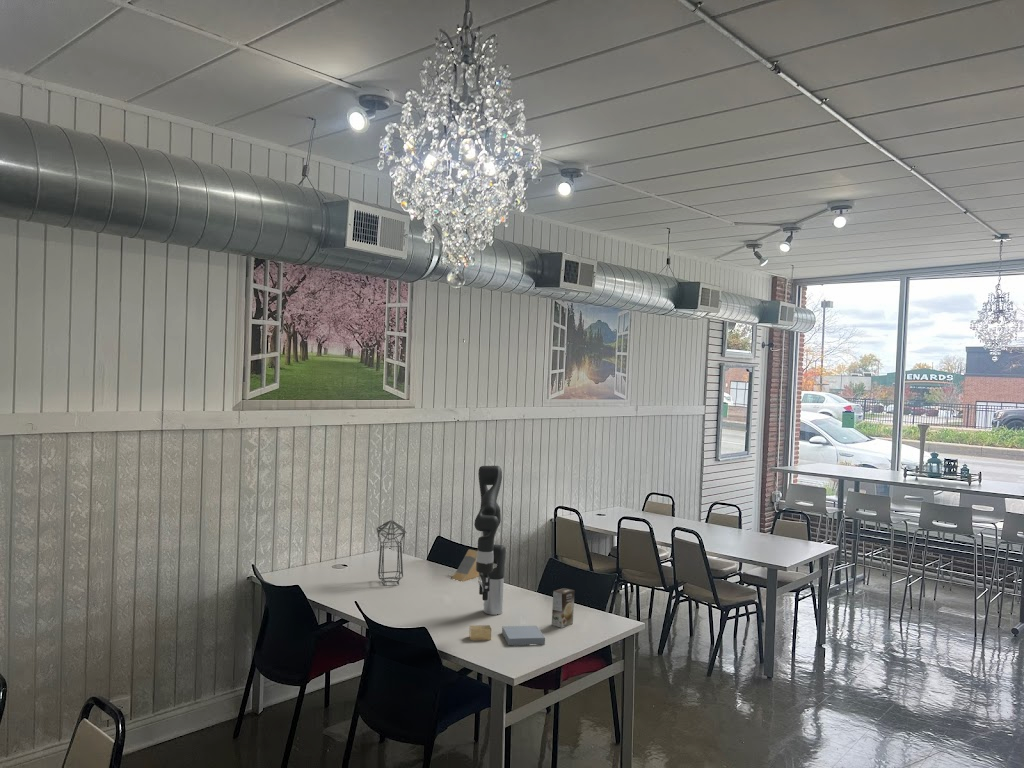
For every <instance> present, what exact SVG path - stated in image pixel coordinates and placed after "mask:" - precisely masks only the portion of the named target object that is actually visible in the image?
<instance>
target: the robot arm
mask: <svg viewBox="0 0 1024 768" xmlns="http://www.w3.org/2000/svg"><path fill="white" fill-rule="evenodd" d="M502 471H503V470H502V468H501V466H499V465H481V466H479V468H478V473H477V474H478V485H479V492H480V509H479V511H478V513H477V515H476V517H475V518H474V528H475V530H476V531H478V532H482V536H480V537H478V540H477V550H476V551H477V560H476V571H477V572H479V577H478V581H477V582H478V587H479V588H478V590H479V591H478V594H479V595H482V601H483V613H484V614H487V615H491V616H496V615H497V614H498V615H501V614H502V613H503V603H504V585H505V584H504V582H505V581H504V580H505V578H504V577H505V568H506V566H505V564H506V557H507V550H506V546H505V545H502V544H496V543H495V544H494V542H495V539H496V538H495V536H496V534H497V531H498V527H499V526H500V524H501V522H502V521H501V520H502V519H501V518H502V517H501V507H500V504H499V503H498V502H497V501H498V496H499V493H500V489H501V485H502V479H503V472H502ZM488 486H491V487H489V489H488ZM494 564H495V565H496V567H494Z"/></svg>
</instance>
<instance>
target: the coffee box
mask: <svg viewBox="0 0 1024 768" xmlns="http://www.w3.org/2000/svg"><path fill="white" fill-rule="evenodd" d="M552 591H553V594H552V608H551V610H552V611H551V626H554V627H558V628H561V629H563V628H565V627H567V626H571V625H573V623H574V610H575V609H574V608H575V592H576V591H575V590H574V589H571V588H566V587H563V588H560V589H559V588H558V589H556V590H552Z"/></svg>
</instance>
